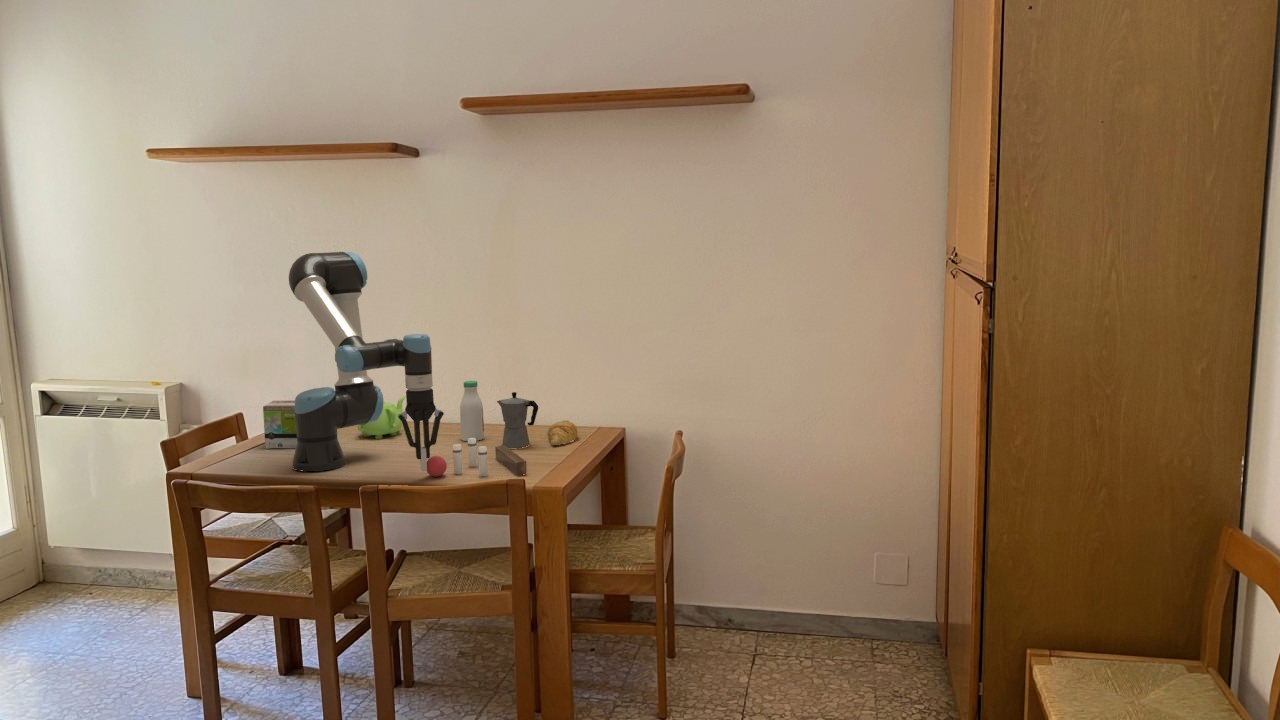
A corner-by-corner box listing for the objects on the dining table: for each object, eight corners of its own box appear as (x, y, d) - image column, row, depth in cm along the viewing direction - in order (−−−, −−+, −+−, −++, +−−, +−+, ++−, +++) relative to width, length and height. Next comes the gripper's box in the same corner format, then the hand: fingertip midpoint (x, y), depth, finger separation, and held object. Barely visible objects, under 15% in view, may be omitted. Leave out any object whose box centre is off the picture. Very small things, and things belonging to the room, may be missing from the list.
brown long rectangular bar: (516, 476, 269) (516, 462, 269) (495, 459, 289) (495, 446, 289) (526, 474, 271) (526, 461, 270) (505, 458, 290) (504, 445, 290)
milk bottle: (481, 442, 313) (479, 383, 310) (459, 442, 313) (456, 383, 310) (486, 436, 320) (483, 379, 317) (463, 437, 320) (461, 379, 317)
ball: (430, 456, 266) (450, 462, 268) (428, 451, 272) (448, 457, 274) (423, 475, 266) (443, 481, 268) (421, 470, 272) (441, 476, 274)
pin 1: (469, 467, 280) (468, 440, 278) (467, 465, 282) (466, 438, 281) (478, 466, 281) (477, 439, 279) (476, 464, 283) (474, 437, 282)
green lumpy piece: (368, 430, 334) (365, 395, 332) (407, 429, 333) (405, 394, 332) (354, 440, 318) (351, 404, 316) (395, 439, 317) (393, 403, 316)
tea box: (264, 449, 306) (261, 405, 304) (275, 442, 316) (272, 399, 314) (311, 448, 307) (308, 404, 305) (320, 441, 317) (317, 399, 315)
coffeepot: (491, 447, 305) (489, 393, 302) (506, 441, 313) (504, 388, 310) (531, 451, 298) (530, 396, 296) (546, 445, 307) (544, 391, 304)
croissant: (562, 458, 303) (573, 438, 301) (535, 443, 304) (546, 423, 302) (578, 442, 324) (588, 422, 322) (553, 428, 325) (563, 408, 323)
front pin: (454, 474, 272) (453, 446, 270) (452, 472, 274) (451, 444, 273) (463, 473, 273) (462, 445, 272) (461, 471, 275) (460, 443, 274)
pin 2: (480, 477, 269) (479, 448, 268) (477, 475, 271) (476, 446, 270) (489, 476, 270) (487, 447, 269) (486, 473, 272) (485, 445, 271)
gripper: (398, 392, 259) (402, 475, 262) (444, 388, 264) (448, 469, 267) (394, 388, 266) (398, 469, 269) (439, 385, 271) (443, 464, 274)
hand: (423, 469), depth 268 cm, fingers closed
